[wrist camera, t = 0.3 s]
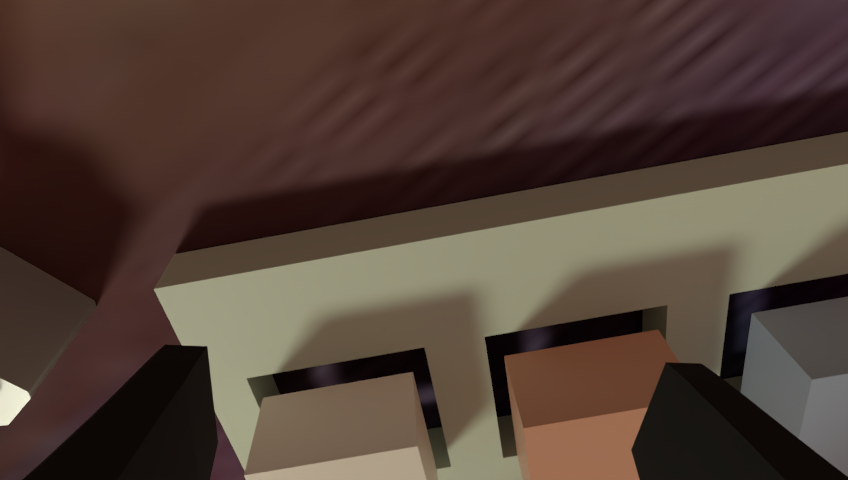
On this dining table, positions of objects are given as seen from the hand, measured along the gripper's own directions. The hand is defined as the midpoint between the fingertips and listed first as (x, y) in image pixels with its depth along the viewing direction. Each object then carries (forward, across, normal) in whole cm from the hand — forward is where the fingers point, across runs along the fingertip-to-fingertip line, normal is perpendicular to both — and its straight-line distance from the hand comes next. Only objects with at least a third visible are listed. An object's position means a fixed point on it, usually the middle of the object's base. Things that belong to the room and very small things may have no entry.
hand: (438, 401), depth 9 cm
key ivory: (+8, +1, +9) cm, 12 cm away
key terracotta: (+8, -6, +7) cm, 12 cm away
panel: (+10, -6, +7) cm, 14 cm away
